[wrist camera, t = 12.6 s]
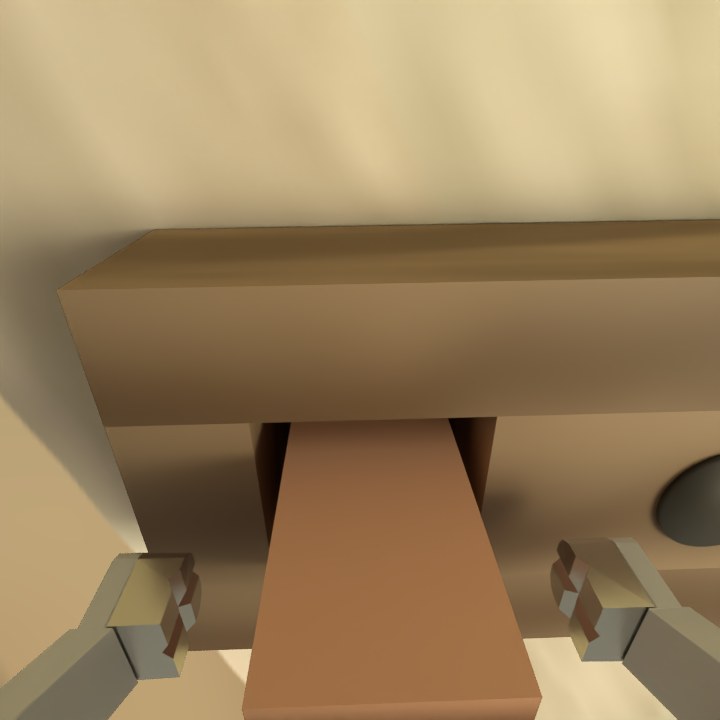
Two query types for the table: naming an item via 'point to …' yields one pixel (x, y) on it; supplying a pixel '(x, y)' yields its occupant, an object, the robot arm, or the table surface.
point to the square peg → (383, 586)
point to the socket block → (417, 386)
